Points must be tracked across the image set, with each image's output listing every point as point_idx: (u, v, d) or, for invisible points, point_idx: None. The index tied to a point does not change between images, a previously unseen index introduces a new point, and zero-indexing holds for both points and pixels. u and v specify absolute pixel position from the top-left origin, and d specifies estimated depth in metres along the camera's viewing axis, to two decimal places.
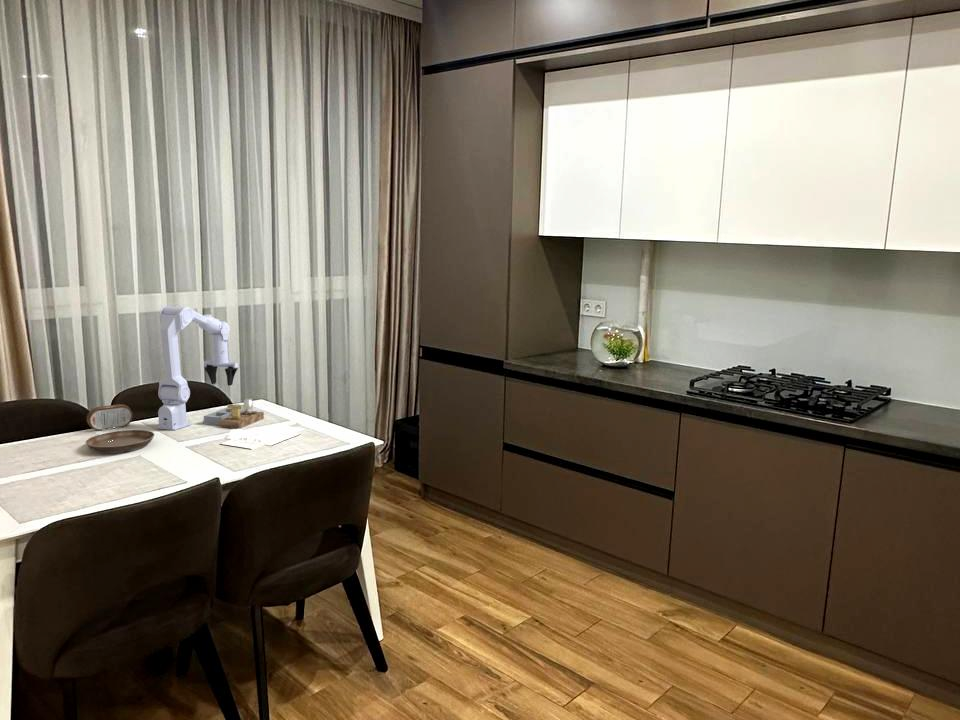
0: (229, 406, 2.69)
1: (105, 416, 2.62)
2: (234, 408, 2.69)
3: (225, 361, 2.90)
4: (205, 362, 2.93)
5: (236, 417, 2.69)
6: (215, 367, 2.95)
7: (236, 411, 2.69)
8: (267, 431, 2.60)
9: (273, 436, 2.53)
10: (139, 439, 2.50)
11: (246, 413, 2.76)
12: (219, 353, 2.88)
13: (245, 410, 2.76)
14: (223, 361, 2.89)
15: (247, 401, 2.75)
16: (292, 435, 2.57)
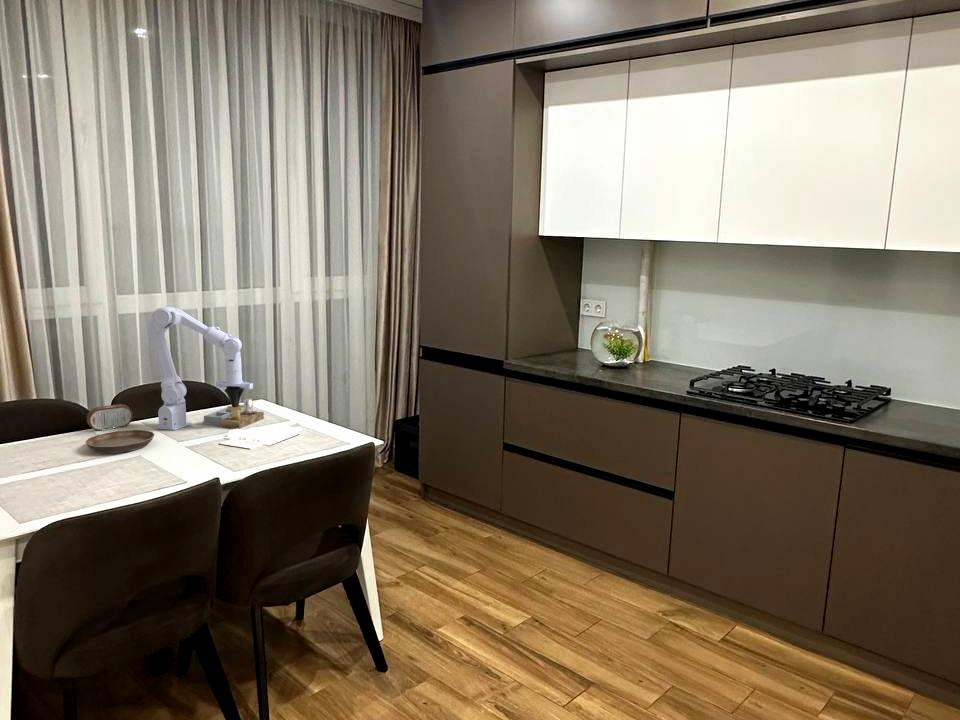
0: (229, 407, 2.69)
1: (105, 416, 2.62)
2: (234, 409, 2.69)
3: (239, 381, 2.66)
4: (217, 382, 2.69)
5: (236, 418, 2.69)
6: None
7: (236, 412, 2.69)
8: (266, 431, 2.60)
9: (272, 436, 2.53)
10: (139, 439, 2.50)
11: (246, 413, 2.76)
12: (232, 373, 2.64)
13: (245, 410, 2.76)
14: (237, 382, 2.66)
15: (247, 401, 2.75)
16: (291, 435, 2.57)
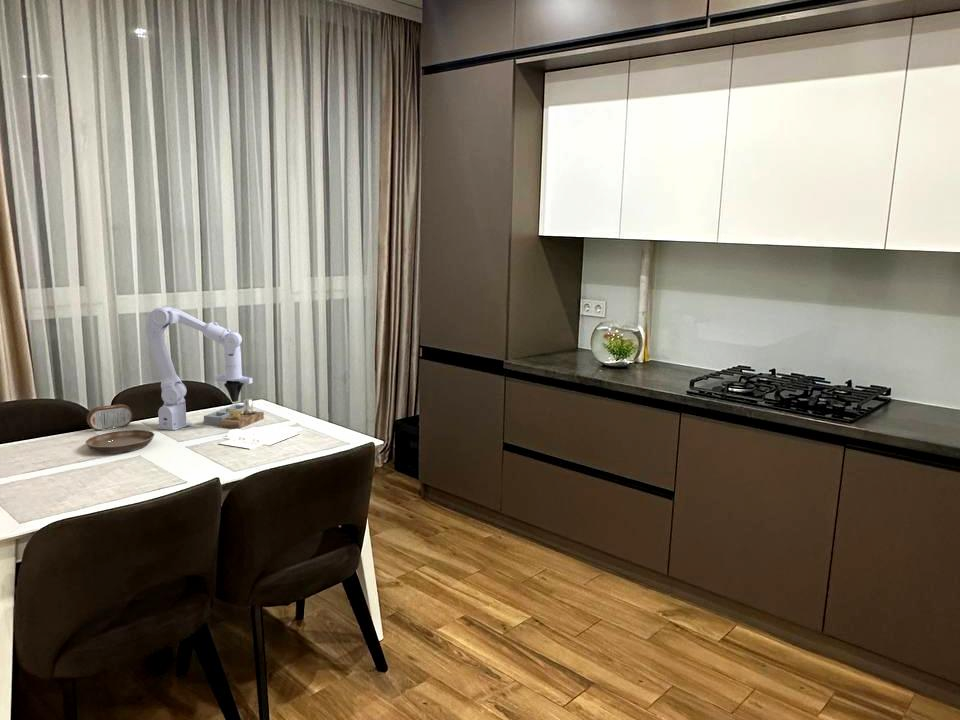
0: (229, 411, 2.70)
1: (105, 416, 2.62)
2: (234, 413, 2.69)
3: (238, 376, 2.66)
4: (217, 377, 2.68)
5: None
6: None
7: (236, 416, 2.69)
8: (266, 431, 2.60)
9: (272, 436, 2.53)
10: (139, 439, 2.50)
11: (246, 413, 2.76)
12: (232, 367, 2.64)
13: (245, 410, 2.76)
14: (236, 376, 2.65)
15: (247, 401, 2.75)
16: (291, 435, 2.57)
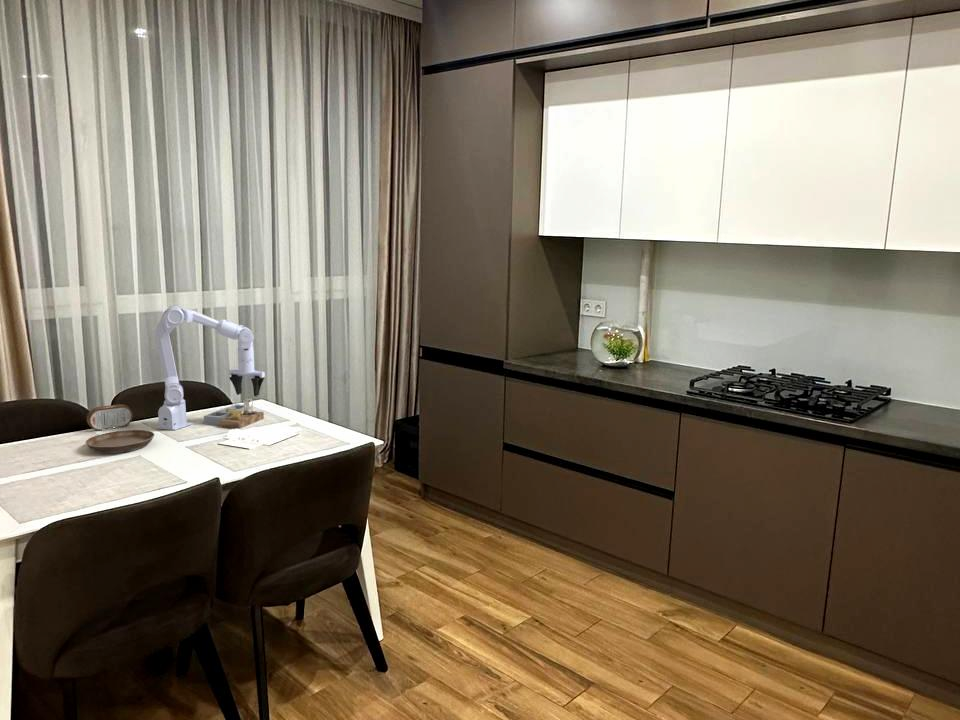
0: (229, 411, 2.70)
1: (105, 416, 2.62)
2: (234, 413, 2.69)
3: (251, 370, 2.73)
4: (230, 371, 2.76)
5: None
6: (240, 376, 2.78)
7: (236, 416, 2.69)
8: (265, 431, 2.60)
9: (271, 436, 2.53)
10: (139, 439, 2.50)
11: (246, 413, 2.76)
12: (245, 362, 2.71)
13: (245, 410, 2.76)
14: (249, 370, 2.73)
15: (247, 401, 2.75)
16: (290, 435, 2.57)
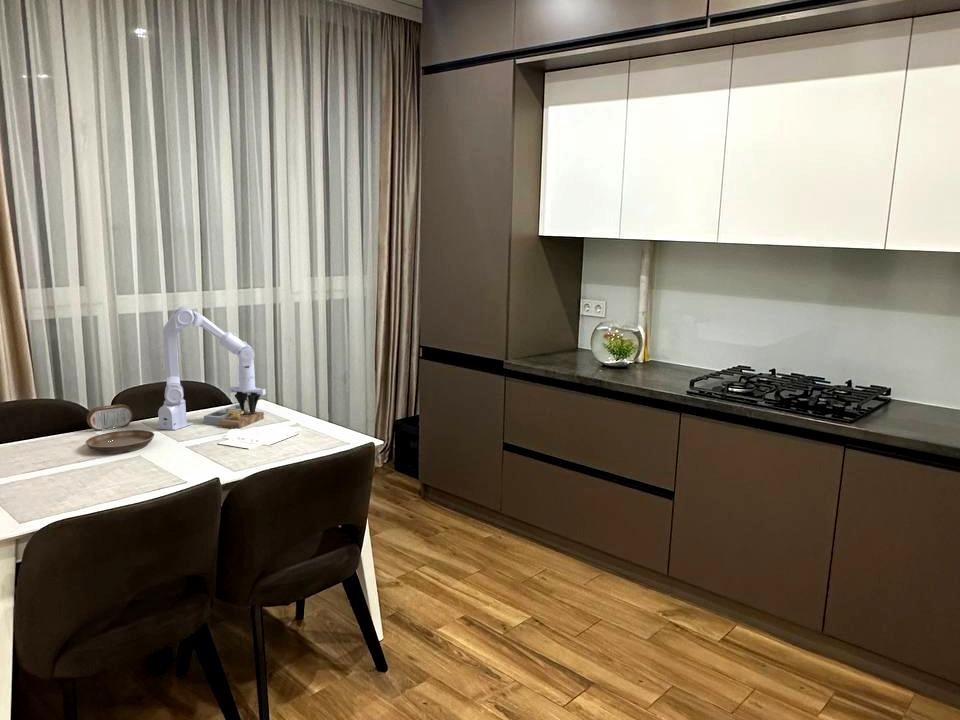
0: (229, 411, 2.70)
1: (105, 416, 2.62)
2: (234, 413, 2.69)
3: (252, 387, 2.74)
4: (231, 388, 2.77)
5: None
6: (245, 394, 2.78)
7: (236, 416, 2.69)
8: (265, 431, 2.60)
9: (271, 436, 2.53)
10: (139, 439, 2.50)
11: (246, 413, 2.76)
12: (246, 379, 2.73)
13: (245, 410, 2.76)
14: (250, 387, 2.74)
15: (247, 401, 2.75)
16: (290, 435, 2.57)
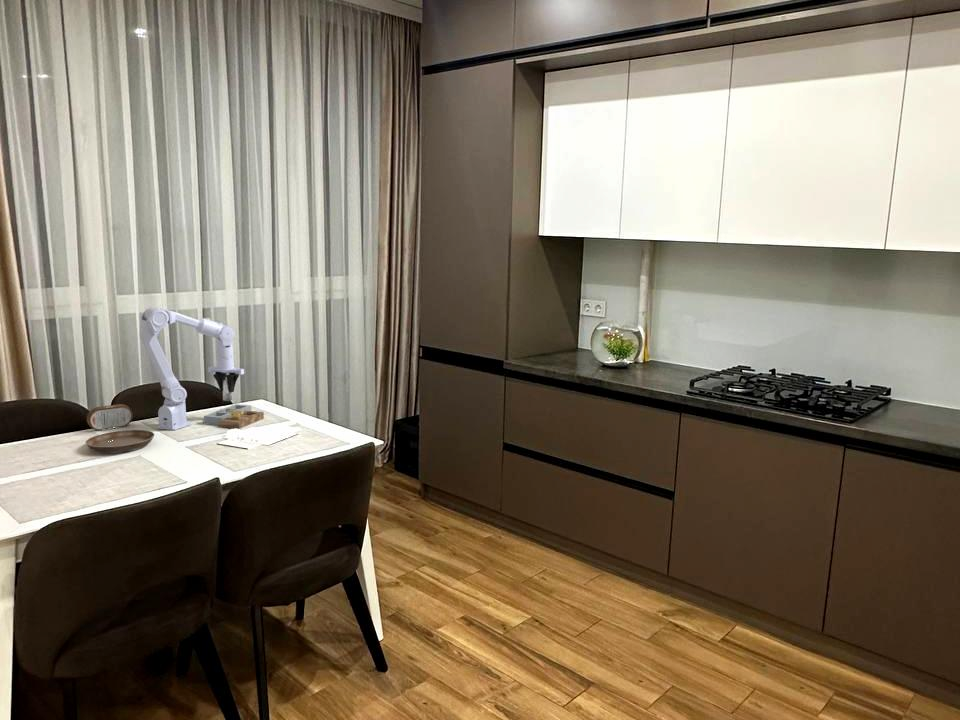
0: (229, 411, 2.70)
1: (105, 416, 2.62)
2: (234, 413, 2.69)
3: (230, 367, 2.76)
4: (209, 368, 2.78)
5: None
6: (224, 374, 2.80)
7: (236, 416, 2.69)
8: (264, 431, 2.60)
9: (270, 436, 2.53)
10: (139, 439, 2.50)
11: (225, 393, 2.77)
12: (224, 359, 2.74)
13: (224, 390, 2.77)
14: (228, 367, 2.75)
15: (226, 381, 2.77)
16: (289, 435, 2.57)
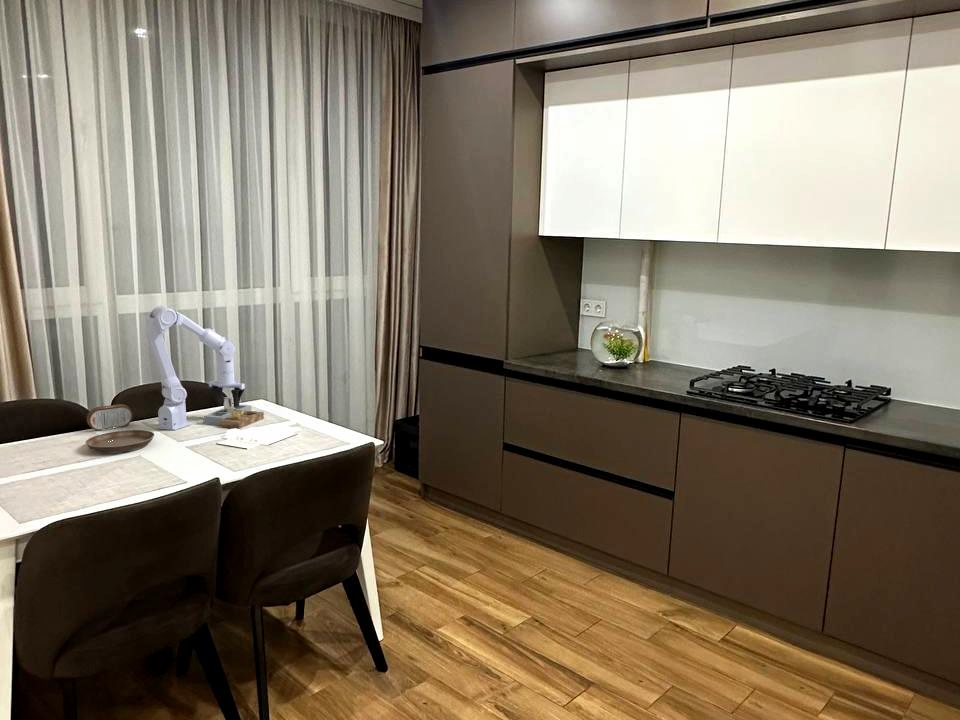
0: (229, 411, 2.70)
1: (105, 416, 2.62)
2: (234, 413, 2.69)
3: (231, 382, 2.77)
4: (210, 383, 2.79)
5: None
6: (221, 388, 2.81)
7: (236, 416, 2.69)
8: (264, 431, 2.60)
9: (270, 436, 2.54)
10: (139, 439, 2.50)
11: (226, 411, 2.79)
12: (225, 374, 2.75)
13: (225, 408, 2.79)
14: (229, 382, 2.76)
15: (227, 399, 2.78)
16: (289, 435, 2.57)
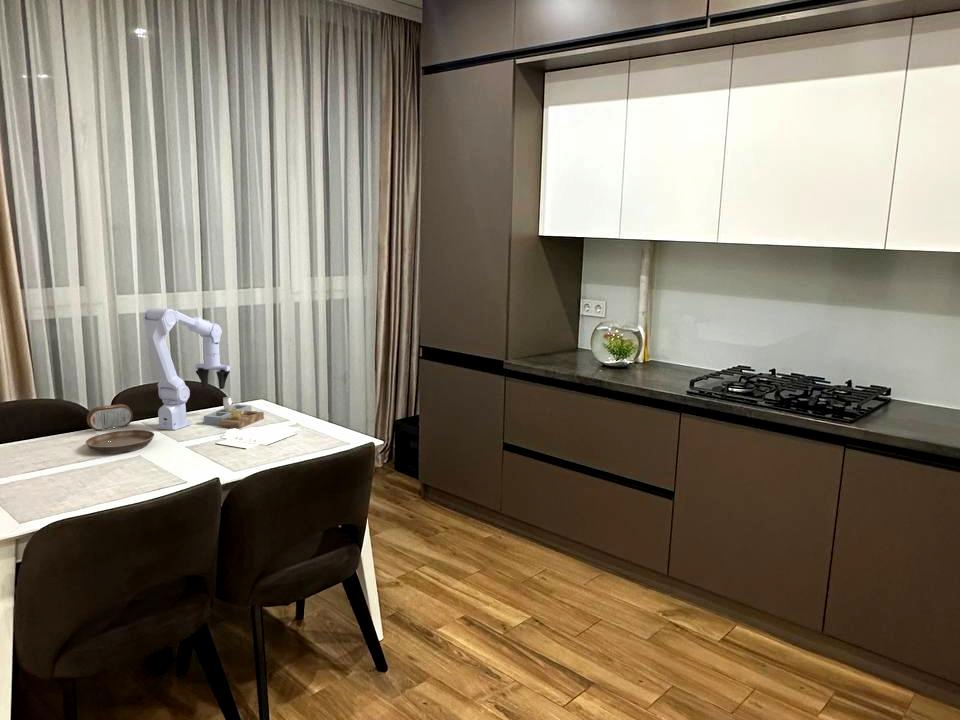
0: (229, 411, 2.70)
1: (105, 416, 2.62)
2: (234, 413, 2.69)
3: (217, 364, 2.82)
4: (196, 365, 2.84)
5: None
6: (207, 370, 2.86)
7: (236, 416, 2.69)
8: (263, 431, 2.60)
9: (269, 436, 2.54)
10: (139, 439, 2.50)
11: (226, 411, 2.79)
12: (210, 356, 2.80)
13: (225, 408, 2.79)
14: (215, 364, 2.81)
15: (227, 399, 2.78)
16: (288, 435, 2.57)
